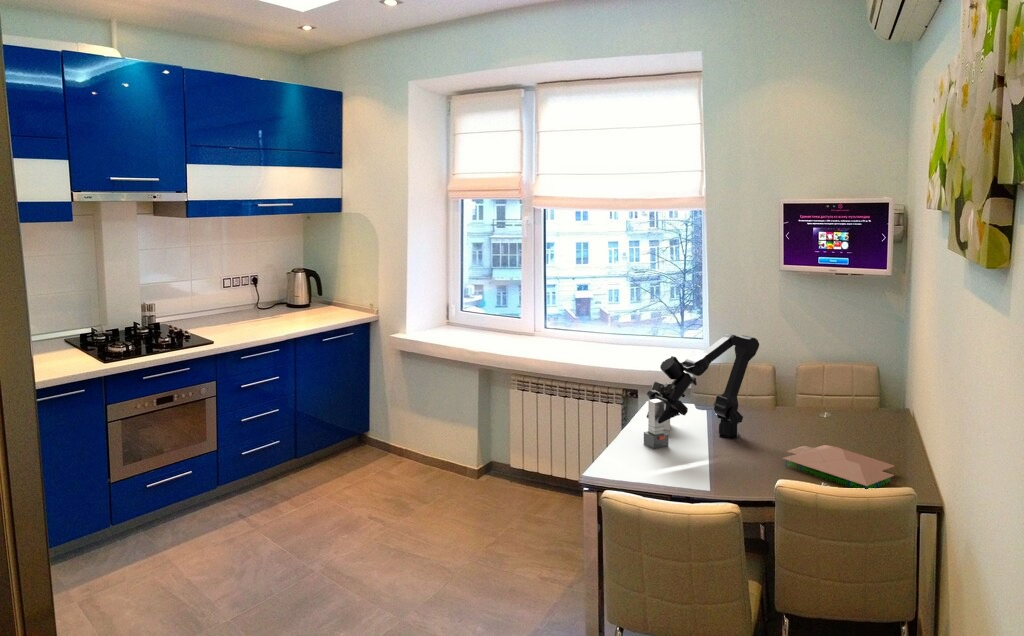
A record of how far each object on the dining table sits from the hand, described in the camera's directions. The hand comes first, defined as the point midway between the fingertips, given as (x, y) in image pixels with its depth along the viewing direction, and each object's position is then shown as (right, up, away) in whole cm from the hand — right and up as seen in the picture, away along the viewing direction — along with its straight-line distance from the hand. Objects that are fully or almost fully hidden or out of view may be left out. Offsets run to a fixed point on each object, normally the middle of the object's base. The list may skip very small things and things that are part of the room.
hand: (652, 420), depth 267 cm
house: (+57, -14, -23) cm, 64 cm away
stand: (+2, -11, +2) cm, 11 cm away
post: (+1, -6, +1) cm, 6 cm away
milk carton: (+8, -7, +25) cm, 27 cm away
